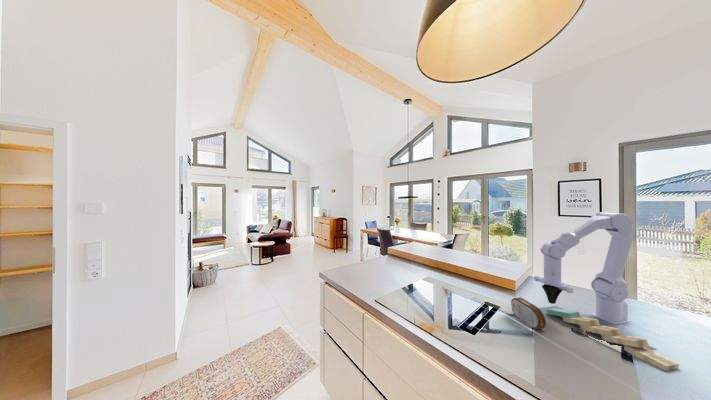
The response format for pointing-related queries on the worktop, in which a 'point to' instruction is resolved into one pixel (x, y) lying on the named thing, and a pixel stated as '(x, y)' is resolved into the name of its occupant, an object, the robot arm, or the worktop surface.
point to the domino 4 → (626, 340)
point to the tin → (528, 313)
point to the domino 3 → (602, 330)
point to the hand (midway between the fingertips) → (552, 302)
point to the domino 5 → (652, 357)
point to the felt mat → (578, 326)
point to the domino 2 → (582, 321)
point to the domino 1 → (563, 313)
